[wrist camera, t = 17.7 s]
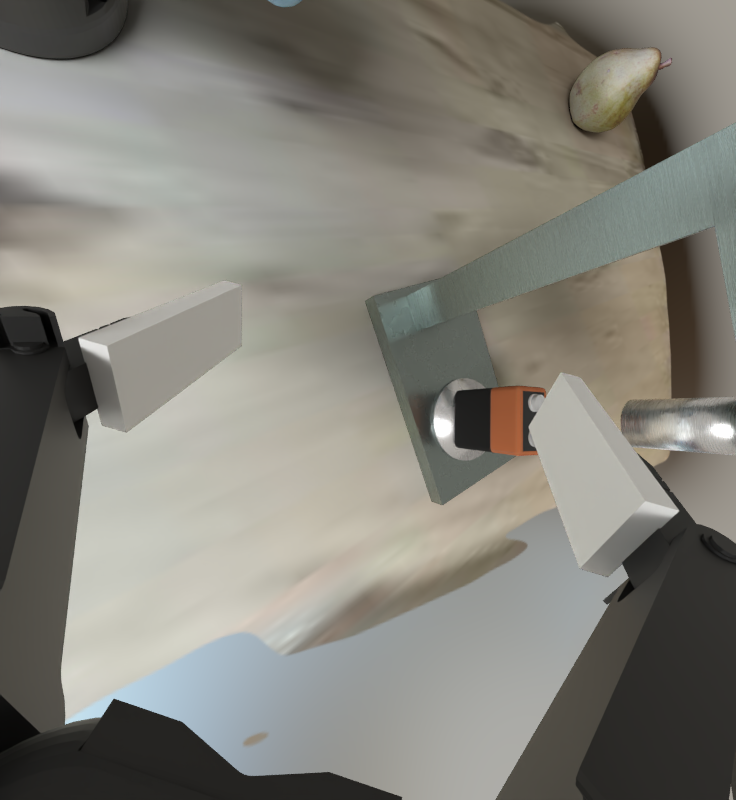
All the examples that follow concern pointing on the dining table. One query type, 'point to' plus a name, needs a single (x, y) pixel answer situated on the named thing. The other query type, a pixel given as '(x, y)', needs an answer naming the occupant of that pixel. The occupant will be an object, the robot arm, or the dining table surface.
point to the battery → (497, 419)
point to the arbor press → (541, 266)
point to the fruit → (613, 87)
